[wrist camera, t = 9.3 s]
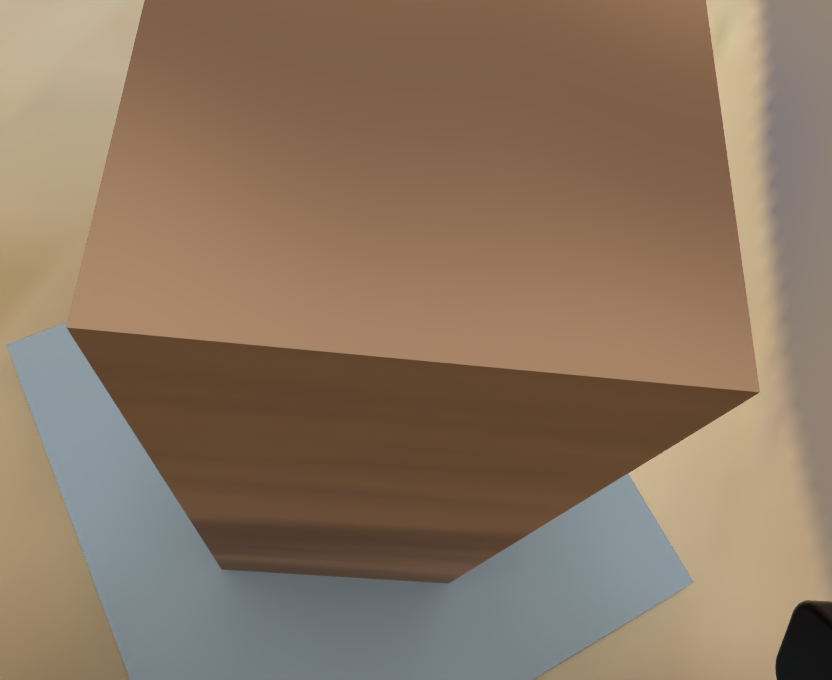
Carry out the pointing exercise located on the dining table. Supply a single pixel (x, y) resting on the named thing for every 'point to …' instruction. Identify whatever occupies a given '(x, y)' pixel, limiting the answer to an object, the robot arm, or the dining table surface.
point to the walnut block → (412, 268)
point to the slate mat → (323, 595)
